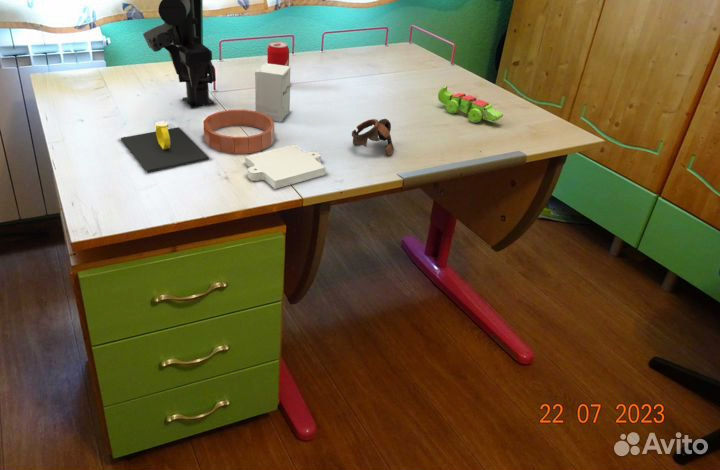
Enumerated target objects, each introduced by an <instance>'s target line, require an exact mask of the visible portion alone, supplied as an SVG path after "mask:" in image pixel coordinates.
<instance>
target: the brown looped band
mask: <svg viewBox="0 0 720 470" xmlns="http://www.w3.org/2000/svg"><path fill="white" fill-rule="evenodd" d="M369 127H371V128H370V129H369V130H367V131H366V132H363V133H362V131H364V130H365V129H367V128H369ZM356 129H357V130H356ZM356 129H353V130H352V131H351V136H352V145H354V146H363V147H365V148H367V147H368V145H367V144H368V140H369V141H373V142H377V143H378V142H380V141H382V142H386V143H387V146H386V147H385V151H386V154H387V156H388V157H389V156H390V155H392V154H393V152H394V149H395V148H394V144H393V140H392V137H391V136H392V135H391V130H392V124H391V121H390V120H389V119H388V118H382V119H379V120H378V119H376V118H370V119H367V120H365V121H363V122H361V123H360V124H358V125H356ZM360 133H361V134H360Z"/></svg>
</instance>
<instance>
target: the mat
mask: <svg viewBox="0 0 720 470" xmlns="http://www.w3.org/2000/svg"><path fill="white" fill-rule="evenodd" d="M167 129H168V132H169V136H170V148H169V149H165V150H163V149H162V147H161V146H160V144H159V142H158V139H157V135H156V130H155V131H151V132H145V133H140V134H135V135H128V136H123V137H120V141H121V142H122V143H123V144H124V145H125V147H126V148H127V149H128V150H129V152H130V153H131V154H132V155H133V157H134V158H135V159H136V160H137V161H138V163H139V164H140V166H141V167H142V168H143V170H145V171H146V172H147V174H148V173H152V172H158V171H162V170H166V169H171V168H175V167H180V166H185V165H190V164H194V163H199V162H202V161H203V162H204V161H207V160H209V157H210V156H209V155H207V154H206V153H205V152H204V151H203V150H202V149H201V148H200V147H199V146H198V145H197V144H196V143H195V142H194V141H193V140H192V139H191V138H190V137H189V136H188V135H187V134H186V132H184V131H183V130H182V128H180V127H179V126H177V127H173V128H167Z"/></svg>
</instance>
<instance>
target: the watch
mask: <svg viewBox="0 0 720 470" xmlns="http://www.w3.org/2000/svg"><path fill="white" fill-rule="evenodd" d="M168 129H169V122H168V121H166V120H158V121H155V131H156V135H157V139H158V142H159V144H160V146H161V147H162V149H163V150H165V149H169V148H170V136H169V132H168Z"/></svg>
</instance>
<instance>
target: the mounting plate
mask: <svg viewBox="0 0 720 470" xmlns="http://www.w3.org/2000/svg"><path fill="white" fill-rule="evenodd" d="M244 157H245V159H244V162H245V165H246V166H247V178H248V179H249V180H250V181H252V182H258V181H265V183H267V184H268V185H270V187H272V188H273V189H274V190H276V189H279V188H284V187H287V186H290V185H294V184H298V183H301V182H304V181H308V180H312V179H315V178H318V177H319V178H320V177H323V176H325V175H326V168H327V166H325V165H323V163H321V160H322V159H321V158H322V155H321V153H319V152H318V151H314V150H313V151H304V150H303V149H302V148H300V147H299V146H297V145H296V144H291V145H287V146H283V147H279V148H275V149H271V150H266V151H262V152H257V153H253V154H250V155H246V156H244Z"/></svg>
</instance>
